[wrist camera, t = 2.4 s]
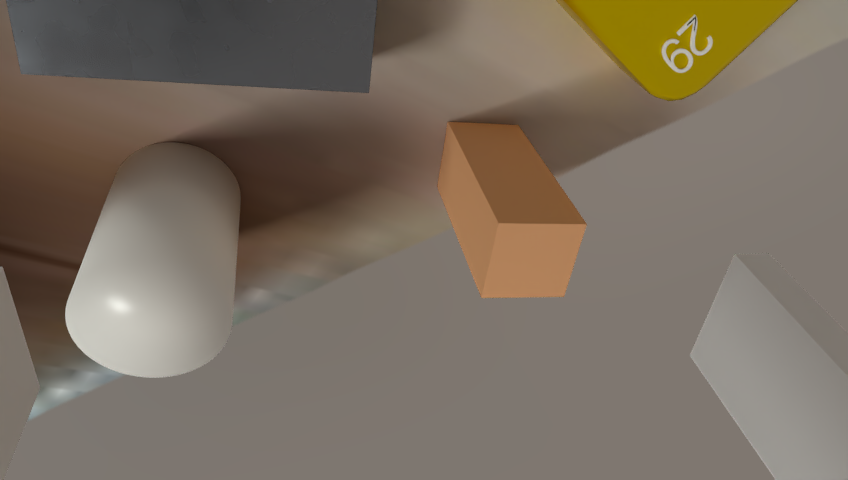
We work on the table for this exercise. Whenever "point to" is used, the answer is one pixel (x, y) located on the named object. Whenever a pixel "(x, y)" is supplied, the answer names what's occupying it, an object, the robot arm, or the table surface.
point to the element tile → (674, 37)
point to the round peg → (160, 265)
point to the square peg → (508, 212)
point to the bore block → (200, 41)
